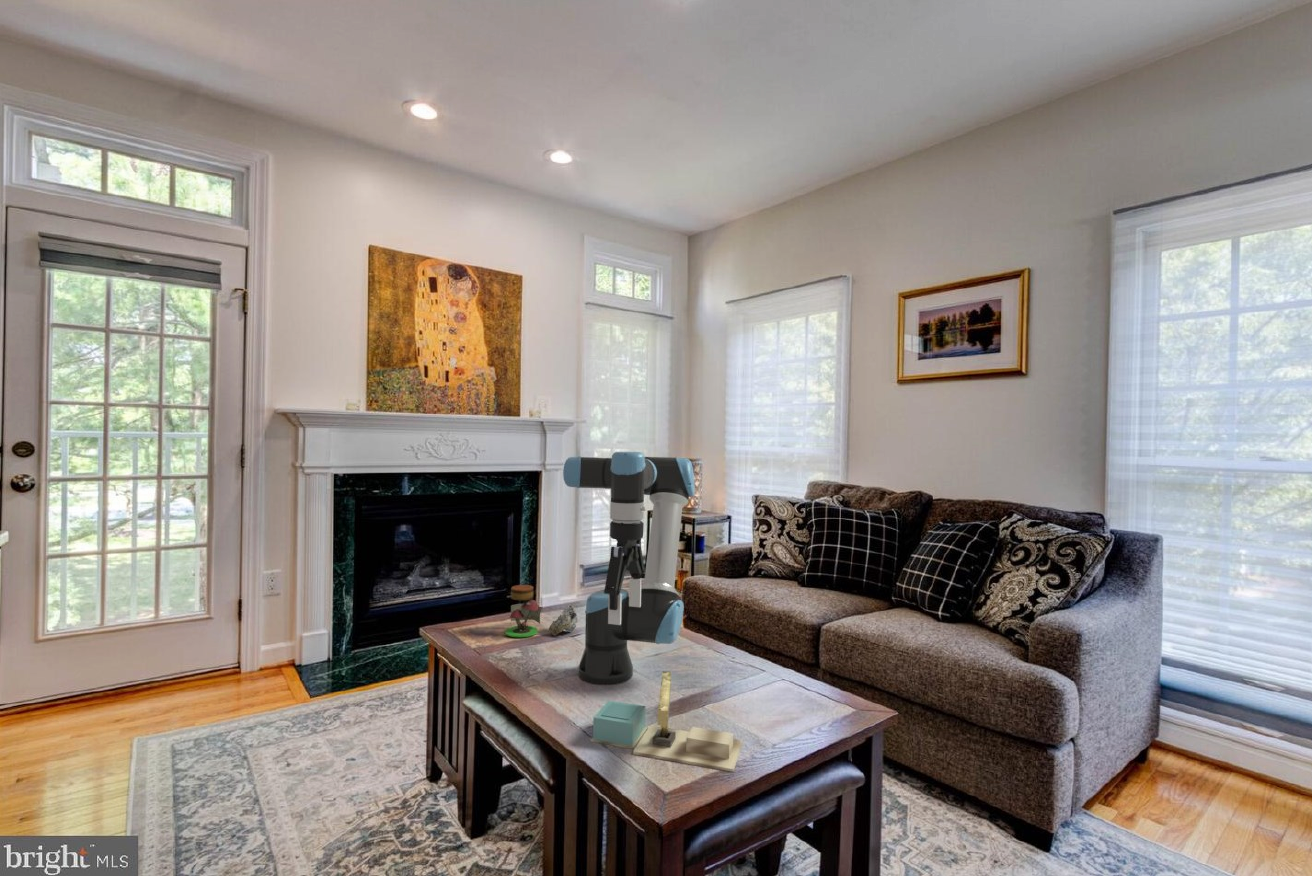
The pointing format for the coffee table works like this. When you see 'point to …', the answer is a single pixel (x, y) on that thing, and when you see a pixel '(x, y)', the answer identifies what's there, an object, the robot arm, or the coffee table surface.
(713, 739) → the housing
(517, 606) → the mushroom figurine
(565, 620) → the mineral specimen
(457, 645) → the coffee table surface
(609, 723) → the cover
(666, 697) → the t key
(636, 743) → the pad
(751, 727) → the coffee table surface
